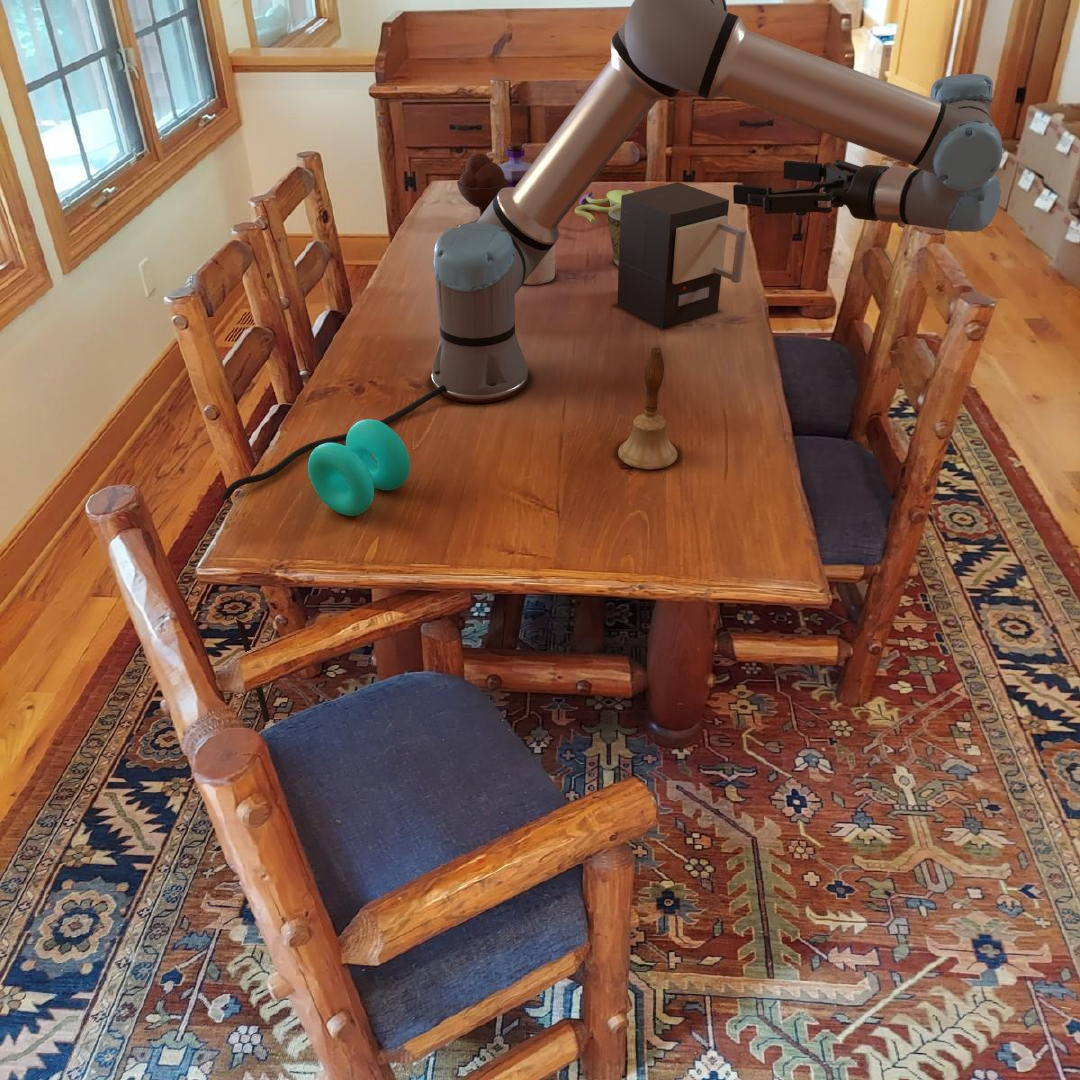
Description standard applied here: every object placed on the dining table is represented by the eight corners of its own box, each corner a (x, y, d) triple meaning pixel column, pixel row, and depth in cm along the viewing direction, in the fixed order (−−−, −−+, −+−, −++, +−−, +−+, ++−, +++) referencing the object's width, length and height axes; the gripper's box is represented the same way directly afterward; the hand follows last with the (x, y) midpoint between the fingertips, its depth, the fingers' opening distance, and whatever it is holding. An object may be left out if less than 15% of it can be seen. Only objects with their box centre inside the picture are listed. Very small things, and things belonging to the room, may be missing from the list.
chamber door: (746, 280, 164) (753, 225, 158) (698, 295, 159) (703, 239, 153) (719, 269, 168) (724, 215, 163) (671, 283, 163) (675, 228, 158)
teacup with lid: (559, 270, 191) (559, 211, 184) (552, 287, 184) (551, 226, 177) (500, 267, 193) (498, 208, 186) (491, 283, 186) (488, 223, 179)
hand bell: (640, 433, 139) (646, 330, 130) (688, 452, 135) (698, 347, 125) (606, 457, 134) (610, 351, 124) (655, 477, 130) (663, 369, 120)
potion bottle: (541, 197, 229) (540, 144, 222) (510, 203, 226) (508, 150, 219) (522, 188, 235) (521, 136, 228) (492, 194, 232) (489, 142, 224)
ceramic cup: (649, 274, 189) (652, 223, 183) (600, 268, 192) (601, 218, 186) (664, 251, 199) (667, 203, 193) (617, 246, 201) (619, 198, 195)
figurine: (573, 239, 205) (573, 213, 202) (576, 200, 227) (576, 176, 224) (660, 240, 205) (661, 213, 201) (655, 201, 226) (656, 176, 223)
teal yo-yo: (309, 505, 125) (297, 439, 119) (361, 471, 132) (352, 406, 126) (367, 530, 120) (357, 462, 114) (417, 493, 127) (411, 427, 121)
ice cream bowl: (453, 231, 210) (448, 160, 202) (470, 215, 219) (467, 146, 210) (498, 235, 208) (496, 163, 199) (514, 219, 216) (512, 149, 208)
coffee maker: (719, 312, 173) (731, 200, 162) (664, 330, 168) (673, 215, 156) (670, 289, 182) (678, 181, 171) (616, 305, 177) (621, 195, 165)
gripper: (836, 247, 134) (713, 229, 147) (924, 195, 147) (804, 183, 160) (838, 192, 129) (711, 179, 143) (929, 144, 143) (805, 136, 156)
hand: (760, 181), depth 152 cm, fingers open, 13 cm apart
